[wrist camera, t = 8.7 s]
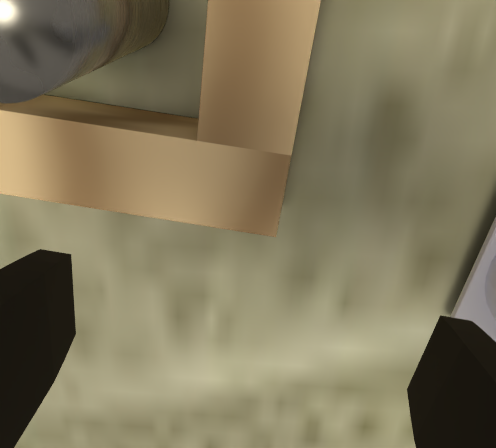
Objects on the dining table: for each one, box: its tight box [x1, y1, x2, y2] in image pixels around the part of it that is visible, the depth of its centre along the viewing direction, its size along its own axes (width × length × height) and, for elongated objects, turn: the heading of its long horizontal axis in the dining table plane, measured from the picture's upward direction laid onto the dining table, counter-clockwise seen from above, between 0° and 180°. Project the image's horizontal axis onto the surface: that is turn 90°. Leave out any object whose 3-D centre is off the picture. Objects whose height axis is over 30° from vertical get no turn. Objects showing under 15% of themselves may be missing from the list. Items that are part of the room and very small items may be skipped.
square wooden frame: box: [0, 0, 321, 237], centre depth 15 cm, size 14×14×2 cm
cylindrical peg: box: [0, 0, 169, 104], centre depth 12 cm, size 4×4×8 cm
